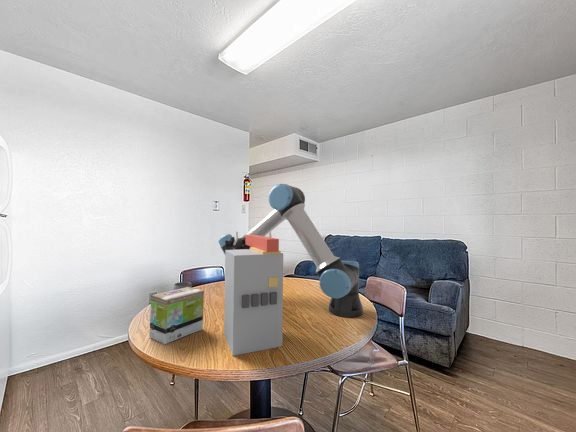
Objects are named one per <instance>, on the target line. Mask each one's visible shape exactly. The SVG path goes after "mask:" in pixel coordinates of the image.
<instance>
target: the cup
mask: <svg viewBox="0 0 576 432" xmlns="http://www.w3.org/2000/svg"><path fill="white" fill-rule="evenodd" d="M186 287H190V288H193V286H192V282H190V281H183V282H182V281H181V282H175V283H174V284H173V290H177V289H181V288H186Z"/></svg>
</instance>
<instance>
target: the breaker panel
mask: <svg viewBox="0 0 576 432" xmlns="http://www.w3.org/2000/svg"><path fill="white" fill-rule="evenodd" d="M224 256H225V258H224V307H223V308H224V313H223V315H224V317H223V320H224V322H223V334H224V338H225V340H226V343H227V345H228V347H229V350H230V353H231V356H234V357H235V356H239V355H244V354H249V353H255V352H260V351H266V350H269V349H270V350H271V349H274V348H280V347H283V327H284V326H283V317H284V316H283V309H284V252H283V253H282V252H281V254H261V253H258V252H256V251H253V250H251V249H241V250H225V254H224Z"/></svg>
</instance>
